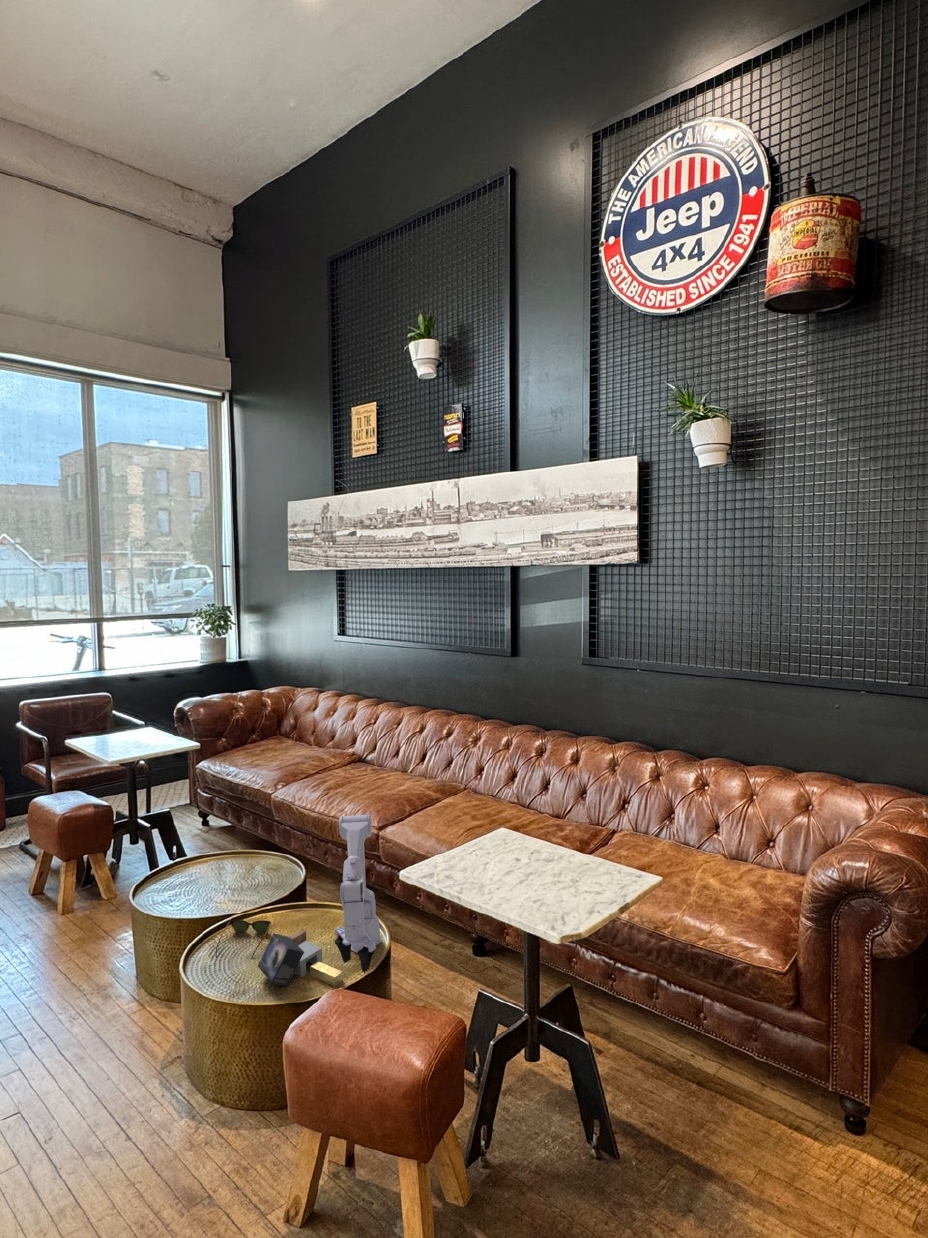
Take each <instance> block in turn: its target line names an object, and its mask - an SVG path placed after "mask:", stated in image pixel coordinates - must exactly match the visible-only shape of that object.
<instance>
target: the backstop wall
mask: <svg viewBox="0 0 928 1238" xmlns="http://www.w3.org/2000/svg"><path fill="white" fill-rule="evenodd" d="M288 937H290V938H291V939H292V940H293V941H294V942H295V943H296V944H297V945H300V944H302V943H303V942H305V941H307V931H306V930H304V929H300V930H298V931H297V932H295V933H294V934H291V935H290V936H288Z"/></svg>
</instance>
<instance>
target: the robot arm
mask: <svg viewBox="0 0 928 1238" xmlns="http://www.w3.org/2000/svg"><path fill="white" fill-rule="evenodd" d="M372 825H373V823H372V815H370V814H369V813H368V814H358V815H340V817H339V819H338V830H339V831H338V833H339V835H340V837H341V839H342V840H345V841H346V847H347V858H346V859H345V860H344V862H343V868H342V869H343V872H342V882H341V883H340V889H339V890H340V892H339V893H340V894H339V895H340V901H341V909H342V910H343V913H342V914H343V926H337V927H336V928H335V929H334V934H335V935H334V936H336V937H337V938H336V939H335V940H334V944H335V946H336V947H337V948H338V951H339V953H340V954H341V959H342V961H343V963H344V964H346V963H347V962H350V961H351V957H352V951H353V952H354V953H357V955H358V957H359V961H360V966H361V972H362V973H363V974H364V973H366V972H367V971H369V970H370V966H371V962H372V959H373V956H374V954H375V951H376V949H377V945H379V944H381V943H382V942H383V939H381V931H380V930H381V929H380V928H381V927H380V920H379V917H378V916H377V914H376V912H377V911H376V910H377V909H376V908H377V907H376V899H375V893H374V892H373V890H370V889H369V888H367V885H366V884H367V883H366V882H367V881H366V863H365V862H366V861H365V860H366V859H365V841H366V839H367V838H370V837H372V831H373V828H372Z"/></svg>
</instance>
